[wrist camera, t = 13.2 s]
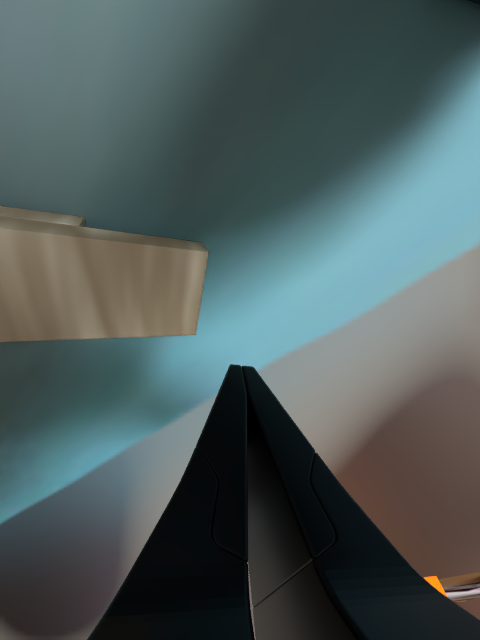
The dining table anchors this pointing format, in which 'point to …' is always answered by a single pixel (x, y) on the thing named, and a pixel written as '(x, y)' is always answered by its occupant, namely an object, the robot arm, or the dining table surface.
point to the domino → (96, 283)
